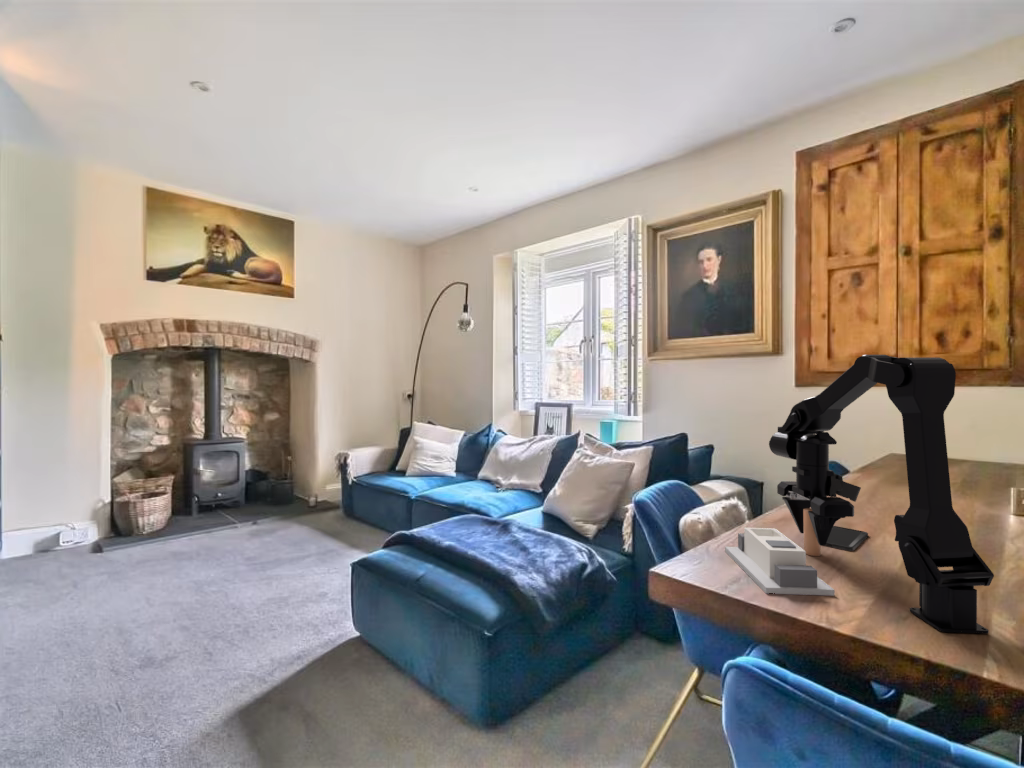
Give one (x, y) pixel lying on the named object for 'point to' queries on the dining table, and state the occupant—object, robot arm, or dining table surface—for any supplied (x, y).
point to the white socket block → (771, 549)
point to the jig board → (770, 581)
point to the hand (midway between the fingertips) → (812, 538)
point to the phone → (845, 538)
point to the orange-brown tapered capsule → (810, 536)
